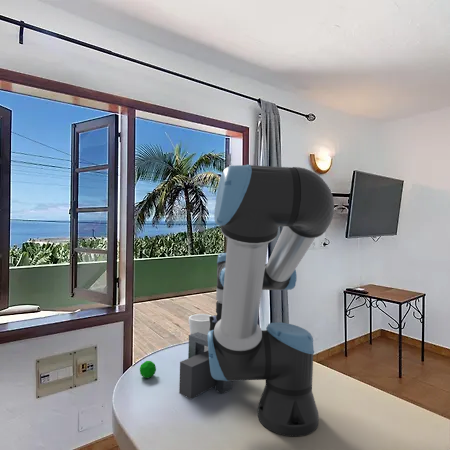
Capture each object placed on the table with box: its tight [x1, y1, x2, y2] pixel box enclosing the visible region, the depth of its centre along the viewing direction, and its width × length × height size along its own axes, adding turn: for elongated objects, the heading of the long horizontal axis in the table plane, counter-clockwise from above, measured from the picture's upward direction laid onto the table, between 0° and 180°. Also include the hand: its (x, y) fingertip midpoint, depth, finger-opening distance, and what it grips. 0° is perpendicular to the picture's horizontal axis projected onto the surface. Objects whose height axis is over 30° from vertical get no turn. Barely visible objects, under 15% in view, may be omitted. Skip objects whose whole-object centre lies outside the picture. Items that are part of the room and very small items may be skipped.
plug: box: [178, 351, 216, 400], centre depth 105 cm, size 6×22×9 cm, turn 140°
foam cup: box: [188, 313, 212, 352], centre depth 129 cm, size 10×9×13 cm
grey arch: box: [187, 332, 233, 395], centre depth 104 cm, size 14×4×14 cm, turn 50°
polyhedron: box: [139, 360, 157, 379], centre depth 107 cm, size 5×5×5 cm
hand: (225, 372), depth 110 cm, fingers open, 6 cm apart
